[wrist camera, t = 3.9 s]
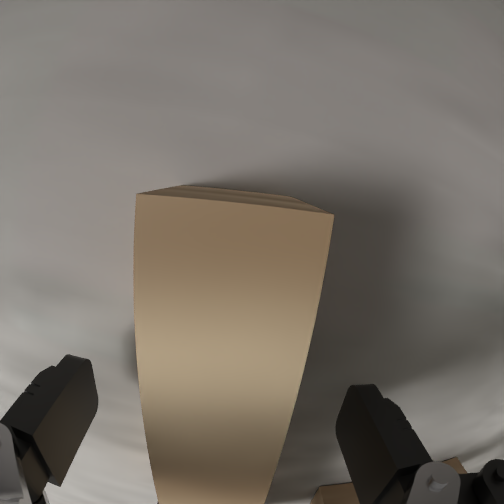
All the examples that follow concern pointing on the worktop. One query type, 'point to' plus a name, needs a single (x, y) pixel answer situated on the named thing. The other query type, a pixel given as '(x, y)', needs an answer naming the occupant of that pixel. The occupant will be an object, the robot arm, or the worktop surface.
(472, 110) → the worktop surface
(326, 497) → the post block
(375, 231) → the worktop surface
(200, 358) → the light wooden bar
